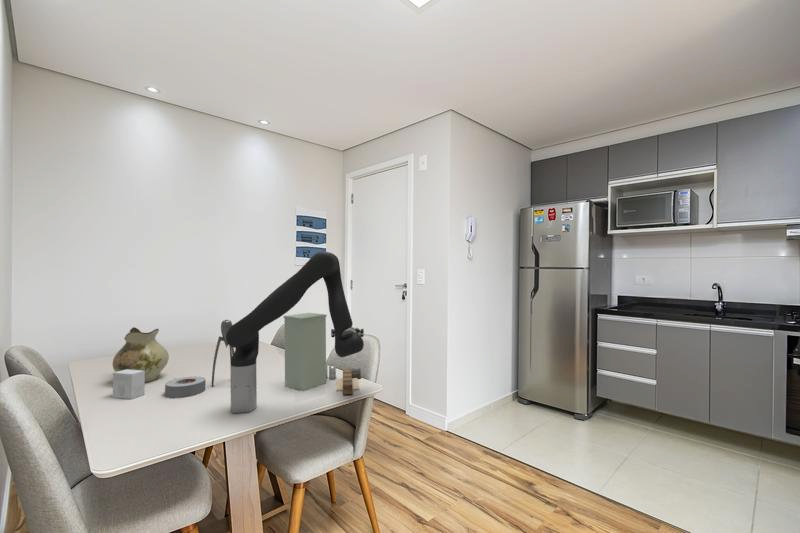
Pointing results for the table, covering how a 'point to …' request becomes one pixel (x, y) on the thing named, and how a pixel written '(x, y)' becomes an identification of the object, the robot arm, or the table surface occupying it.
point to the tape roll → (184, 387)
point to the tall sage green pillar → (305, 350)
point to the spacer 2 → (332, 372)
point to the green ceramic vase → (141, 354)
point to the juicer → (224, 328)
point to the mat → (354, 384)
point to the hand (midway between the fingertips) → (347, 330)
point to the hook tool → (349, 379)
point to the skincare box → (128, 384)
